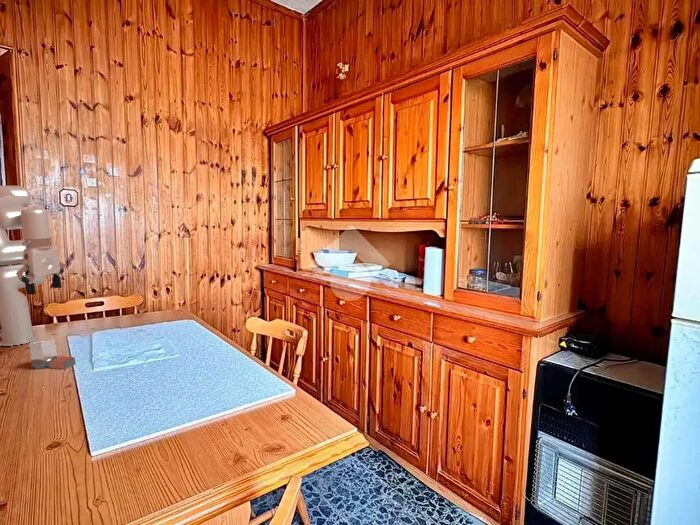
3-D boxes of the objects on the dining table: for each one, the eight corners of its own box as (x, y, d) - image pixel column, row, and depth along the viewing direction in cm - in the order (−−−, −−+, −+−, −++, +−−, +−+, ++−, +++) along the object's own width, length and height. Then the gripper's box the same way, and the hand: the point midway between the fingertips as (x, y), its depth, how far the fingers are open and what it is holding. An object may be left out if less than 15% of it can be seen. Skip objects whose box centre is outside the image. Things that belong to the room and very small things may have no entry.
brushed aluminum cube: (31, 360, 136) (28, 343, 135) (45, 354, 141) (42, 338, 140) (43, 360, 135) (40, 343, 134) (57, 355, 140) (54, 338, 139)
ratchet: (79, 362, 140) (76, 345, 139) (61, 371, 133) (58, 352, 132) (46, 360, 143) (43, 343, 142) (27, 369, 136) (24, 351, 135)
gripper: (21, 247, 132) (29, 297, 135) (69, 241, 149) (74, 286, 152) (4, 246, 134) (11, 296, 137) (52, 240, 150) (58, 285, 153)
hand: (44, 290), depth 144 cm, fingers open, 9 cm apart
